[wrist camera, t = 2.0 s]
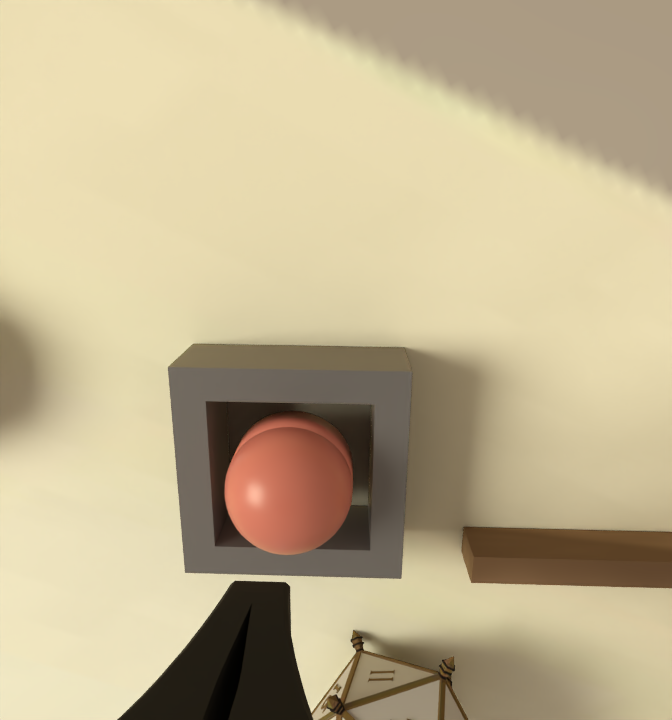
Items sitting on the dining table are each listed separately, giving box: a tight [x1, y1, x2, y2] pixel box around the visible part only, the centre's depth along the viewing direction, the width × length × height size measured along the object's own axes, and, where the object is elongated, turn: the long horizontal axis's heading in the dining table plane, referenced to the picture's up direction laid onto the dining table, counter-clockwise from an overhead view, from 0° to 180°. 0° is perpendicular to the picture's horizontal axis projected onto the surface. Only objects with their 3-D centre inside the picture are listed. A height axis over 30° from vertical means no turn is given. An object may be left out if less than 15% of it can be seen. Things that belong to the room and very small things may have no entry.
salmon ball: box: [225, 411, 353, 555], centre depth 19 cm, size 4×4×4 cm
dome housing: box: [168, 344, 412, 579], centre depth 21 cm, size 8×8×3 cm
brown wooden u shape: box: [462, 527, 672, 588], centre depth 24 cm, size 16×14×2 cm
